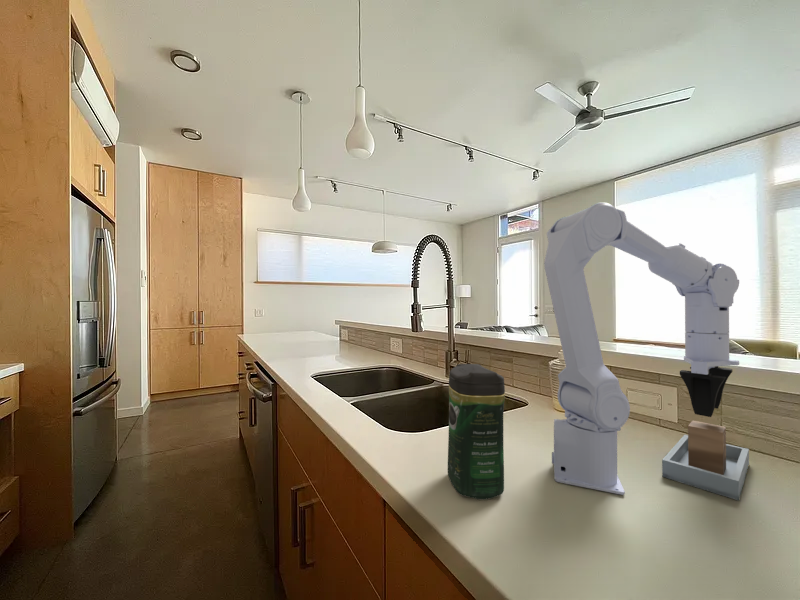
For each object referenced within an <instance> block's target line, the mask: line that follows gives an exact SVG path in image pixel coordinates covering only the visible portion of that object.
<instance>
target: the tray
mask: <svg viewBox="0 0 800 600" xmlns="http://www.w3.org/2000/svg"><path fill="white" fill-rule="evenodd" d="M661 460H662V461H661V470H662V472H661V476H662V478H666V479H668V480H672V481H674V482H679V483H681V484H684V485H687V486H690V487H694V488H698V489H699V490H703V491H707V492H710V493H713V494H717V495H720V496H722V497H725V498H729V499H732V500H736V501H740V498H741V494H742V491H743V487H744V485H745V480H746V477H747V474H746V473H748V470H747V469H749V467H748V465H749V466H750V448H747V447H741V446H738V445H737V446H736V445H733V444H729V443H726V470H725V473H724V475H721V474H718V473H714V472H710V471H707V470H703V469H700V468H696V467H693V466H689V465H688V434H683V436H682V437H681V438H680V439H679V440H678V441H677V442H676V443H675V445H674V446H673V447H672V448H671V449H670V450H669V452H667V454H666V455H665V456H664V457H663V458H662V459H661Z"/></svg>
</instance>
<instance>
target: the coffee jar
mask: <svg viewBox="0 0 800 600" xmlns="http://www.w3.org/2000/svg"><path fill="white" fill-rule="evenodd" d="M504 378H505V377H504V376H503V375H501V374H498V372H496V371H493V370H490V369H489V368H485V367H484V366H483V365H481V364H478V363H458V364H457V365H456V366H454V367H453V368H451V369H450V371H449V375H448V400H449V401H448V406H449V407H448V438H447V439H448V443H447V445H448V447H447V476H448V479H449V481H450V483H451V485H452V487H453V488H454V489H455V491H456V492H457V493H458V494H459V496H462V497H468V498H472V499H475V500H484V501H485V500H492V499H493V498H496V497H499V496H501V495H503V493H504V491H505V465H504V464H505V463H504V462H505V461H504V459H505V458H504V455H505V454H504V408H505V399H506V398H505V397H506V391H505V389H506V387H505V379H504Z"/></svg>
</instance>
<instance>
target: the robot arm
mask: <svg viewBox="0 0 800 600" xmlns="http://www.w3.org/2000/svg"><path fill="white" fill-rule="evenodd" d="M546 238H547V242H548V243H547V248H546V253H545V257H544V258H545V259H544V263H543V265H544V273H545V276H546V281H547V285H548V290H549V295H550V300H551V303H552V307H553V308H552V309H553V312H554V319H555V322H556V327H557V332H558V336H559V341H560V344H561V346H560V347H561V350H562V354H563V359H564V364H565V367H564V368H563V369H562V370H561V371H560V372H559V373H558V374H557V378H558V382H559V384H558V390H557V402H558V403H559V406H560V407H561V408H562V409H563V410H564V417H565V418H564V419H559V418H557V419H556V418H554V419H553V451H552V452H551V464H552V465H553V471H554V472H553V473H554V481H555V482H557V483H562V484H566V485H570V486H571V485H572V486H576V487H581V488H587V489H592V490H597V491H601V492H606V493H611V494H616V495H622V496H625V494H626V493H625V492H626V491H625V488H624V487H623V484H622V482H621V480H620V478H619V475H618V432H620V431H621V428H622V427H623V426H624V425H625V424H626V423H627V422H628V419H629V417H630V413H631V405H630V401H629V399H628V397H627V396H626V394H625V393H623V390H622V388H621V386H620V380H619V379H618V378H617V376H616V375H615V374H614V373H613V372H612V371H611V370H610V369H609V368H608V367H607V366H606V365H605V364H604V360H603V359H604V358H603V355H602V350H601V349H602V348H601V345H600V341H599V340H600V339H599V336H598V332H597V327H596V322H595V318H594V317H595V316H594V312H593V308H592V303H591V300H590V299H591V298H590V295H589V291H588V285H587V280H586V275H585V271H584V269H585V267H586V266H587V264H588V263H589V262H590V261H591V259H592V258H593V257H594V255H595V254H596V253H598V252H599V251H601V250H603V249H604V248H605V247H607V246H611V247H613V248H616V249H617V250H621V251H623V252H624V253H627V254H628V255H631V256H634V257H635V258H638V259H640V260H642V261H644V262H647V266H648V269H649V271H650V272H651V273H652V274H655V275H656V276H658V277H659V278H662V279H664V280H666V281H668V282H669V283H671V284H672V285H673V286H674V287H675V289H676V291H677V293H678V294H679V295H680V296H681V297H684V326H685V327H684V338H685V339H684V346H685V347H684V348H685V349H684V353H685V354H684V355H683V361H684V362H686V363H688V364H689V365H690V367H689V369H690V370H687V369H686V370H685V369H682V370H679V375H680V378H681V379H682V381H683V382H684V385H685V386H686V389H687V391H688V394H689V399H690V402H691V406H692V410H693V412H694V415H697V416H702V417H708V418H712V416H713V414H714V411H715V409H717V410H718V409H719V407H720V406H721V405H720V404H721V402H722V397H723V392H724V388H725V386H726V384H727V380H728V379H729V377H730V376H731V374H732V373H733V369H732V368H730V367H729V366H740V360H736V359H730V307H732V306H733V304H734V296H735V293H736V292H737V291H738V289H739V286H740V279H738V276H737V273H736V271H735V270H734V269H733V268H732V267H731V266H729V265H727V264H724V263H712V262H710V261H708V260H707V259H706V258H705V257H703V256H699V255H697V254H696V253H694V252H692V251H691V250H688V249H686V245H684V244H682V243H681V242H680V243H668V244H667V243H666V244H665V245H664V244H662V243H661V242H659V241H658V240H657V239H655V238H653V237H652V236H651V235H649V234H647V233H646V232H644V231H643V230H642V229H640V228H638V227H637V226H635V225H634V224H632V223H631V222H629V220H627V216H626V213H625V211H623V210H621V209H618V208H616V207H615V206H614V205H613V204H611V203H608V202H605V201H604V202H597V203H594V204H592V205H591V206H589V207H587V208H585V209H581V210H580V211H577V212H574V213H572V214H570V215H567V216H564V217H561V218H559V219H557V220H556V221H555V222H554V223H553V224H552V226H551V227H550V228H549V229H548V231H547V232H546ZM726 366H728V367H726Z"/></svg>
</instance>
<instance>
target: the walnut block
mask: <svg viewBox="0 0 800 600" xmlns="http://www.w3.org/2000/svg"><path fill="white" fill-rule="evenodd" d="M687 433H688V434H687V435H688V465H689V466H693V467H696V468H700V469H703V470H707V471H710V472H714V473H718V474H721V475H724V473H725V470H726V444H727V427H726V426H723V425H717V424H714V423H713V424H712V423H707V422H704V421H703V422H702V421H698V420H691V422H690V423H689V424H688V425H687Z"/></svg>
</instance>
